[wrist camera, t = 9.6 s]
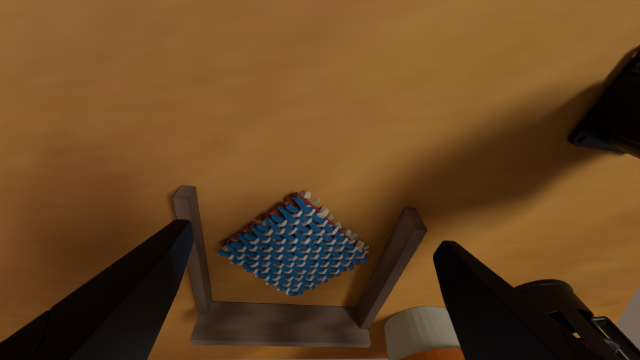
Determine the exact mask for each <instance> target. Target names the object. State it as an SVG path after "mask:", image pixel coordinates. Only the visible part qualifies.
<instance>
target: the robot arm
mask: <svg viewBox="0 0 640 360" xmlns="http://www.w3.org/2000/svg"><path fill="white" fill-rule="evenodd" d="M568 141H569V142H570V143H572V144H574V145H576V146H583V147H589V148H596V149H602V150H609V151H615V152H622V153H628V154H630V155H632V156H635V157H637V158H639V159H640V51H639V52H638V53H637V55H636V56H635V57H634V58H633V60H632V61H631V62H630V63H629V64H628V66H627V67H626V68H625V69H624V71H623V72H622V73H621V74H620V75H619V77H618V78H617V79H616V80H615V82H614V83H613V84H612V85H611V86H610V88H609V89H608V90H607V91H606V93H605V94H604V95H603V96H602V97H601V99H600V100H599V101H598V102H597V104H596V105H595V106H594V107H593V108H592V110H591V111H590V112H589V113H588V115H587V116H586V117H585V118H584V119H583V121H582V122H581V123H580V124H579V126H578V127H577V128H576V129H575V130H574V132H573V133H572V134H571V135H570V137H569V139H568ZM193 242H194V234H193V228H192V223H191V221H190V220H188V219H176V220H174V221H172V222H171V223H170V224H168V225H167V226H165V227H164V228H163V229H161V230H160V231H158V232H157V233H156V234H154V235H153V236H151V237H150V238H148V239H147V240H146V241H144V242H143V243H141V244H140V245H139V246H137V247H136V248H134V249H133V250H132V251H130V252H129V253H127V254H126V255H124V256H123V257H122V258H120V259H119V260H117V261H116V262H115V263H113V264H112V265H110V266H109V267H108V268H106V269H105V270H103V271H102V272H101V273H99V274H98V275H96V276H95V277H93V278H92V279H91V280H89V281H88V282H86V283H85V284H84V285H82V286H81V287H79V288H78V289H77V290H75V291H74V292H72V293H71V294H69V295H68V296H67V297H65V298H64V299H62V300H61V301H60V302H58V303H57V304H55V305H54V306H53V307H51V309H50V310H47V311H45V312H44V313H42V314H41V315H40V316H38V317H37V318H35V319H34V320H33V321H31V322H30V323H28V324H27V325H25V326H24V327H23V328H21V329H20V330H18V331H17V332H15V333H14V334H12V335H11V336H9V337H8V338H7V339H5V340H4V341H2V342H1V343H0V360H147V359H148V356H149V354H150V352H151V350H152V347H153V345H154V343H155V341H156V338H157V336H158V334H159V332H160V329H161V327H162V325H163V323H164V321H165V318H166V316H167V314H168V312H169V309H170V307H171V305H172V303H173V300H174V298H175V296H176V294H177V291H178V289H179V286H180V283H181V280H182V277H183V274H184V271H185V268H186V265H187V261H188V258H189V255H190V252H191V249H192V246H193ZM433 261H434V265H435V269H436V273H437V277H438V281H439V285H440V289H441V293H442V296H443V300H444V303H445V306H446V308H447V311H448V314H449V317H450V320H451V322H452V325H453V328H454V331H455V333H456V336H457V339H458V342H459V345H460V347H461V350H462V353H463V356H464V358H465V360H605V359H604V358H603V357H601V356H600V355H599V354H597V353H596V352H595V351H593V350H592V349H591V348H589V347H588V346H587V345H586V344H584V343H583V342H582V341H580V340H579V339H578V338H577V337H575V336H574V335H573V334H571V333H570V332H569V331H568V330H566V329H565V328H564V327H563V326H560V324H559V323H558V322H556V321H555V320H554V319H552V318H551V317H550V316H549V315H547V314H546V313H545V312H544V311H542V310H541V309H540V308H539V307H537V306H536V305H535V304H534V303H532V302H531V301H530V300H528V299H527V298H526V297H525V296H523V295H522V294H521V293H520V292H518V291H517V290H516V289H515V288H513V287H512V286H511V285H510V284H508V283H507V282H506V281H504V280H503V279H502V278H501V277H499V276H498V275H497V274H496V273H494V272H493V271H492V270H491V269H489V268H488V267H487V266H486V265H484V264H483V263H482V262H480V261H479V260H478V259H477V258H475V257H474V256H473V255H472V254H470V253H469V252H468V251H467V250H465V249H464V248H463V247H462V246H460V245H459V244H458V243H456V242H455V241H447V240H444V241H442V242H441V244H440V245H439V247H438V248H437V250H436V251H435V253H434V255H433Z"/></svg>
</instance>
